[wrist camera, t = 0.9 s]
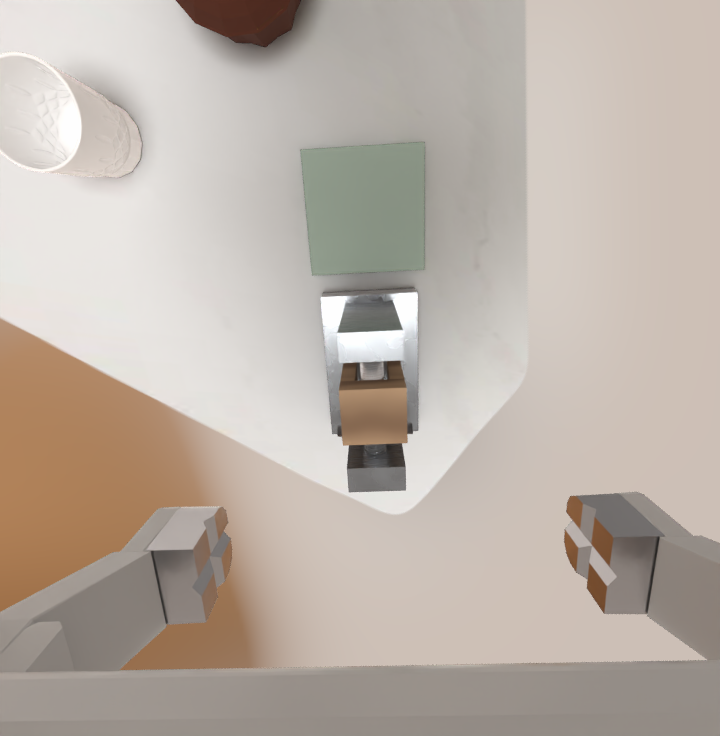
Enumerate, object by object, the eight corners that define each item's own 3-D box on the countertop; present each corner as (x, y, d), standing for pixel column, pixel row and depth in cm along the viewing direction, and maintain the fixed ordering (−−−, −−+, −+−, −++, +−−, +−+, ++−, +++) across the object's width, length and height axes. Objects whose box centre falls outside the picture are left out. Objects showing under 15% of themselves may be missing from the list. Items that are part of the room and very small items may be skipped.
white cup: (58, 156, 40) (-36, 135, 31) (81, 75, 38) (-13, 26, 28) (133, 199, 41) (64, 192, 32) (160, 124, 39) (94, 91, 30)
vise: (323, 292, 44) (303, 324, 30) (414, 287, 44) (436, 318, 30) (334, 422, 50) (321, 500, 36) (415, 419, 49) (434, 497, 35)
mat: (301, 151, 40) (300, 149, 39) (423, 143, 39) (424, 141, 38) (312, 274, 44) (311, 275, 43) (423, 268, 43) (424, 269, 43)
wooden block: (344, 358, 40) (338, 390, 32) (399, 356, 39) (406, 387, 32) (347, 405, 41) (342, 445, 34) (400, 402, 41) (407, 443, 33)
